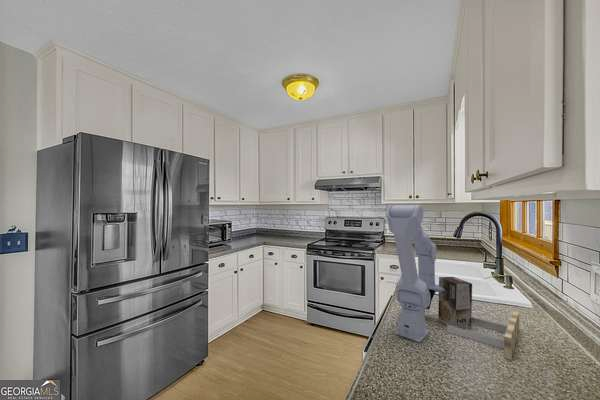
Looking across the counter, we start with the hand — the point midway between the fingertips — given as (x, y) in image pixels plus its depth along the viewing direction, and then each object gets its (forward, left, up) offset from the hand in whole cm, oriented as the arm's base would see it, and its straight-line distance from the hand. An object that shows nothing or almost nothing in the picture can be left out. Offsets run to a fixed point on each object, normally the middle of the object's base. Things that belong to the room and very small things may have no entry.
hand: (427, 308), depth 98 cm
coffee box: (0, -9, -4) cm, 10 cm away
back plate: (0, -25, -4) cm, 26 cm away
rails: (0, -17, -4) cm, 17 cm away
